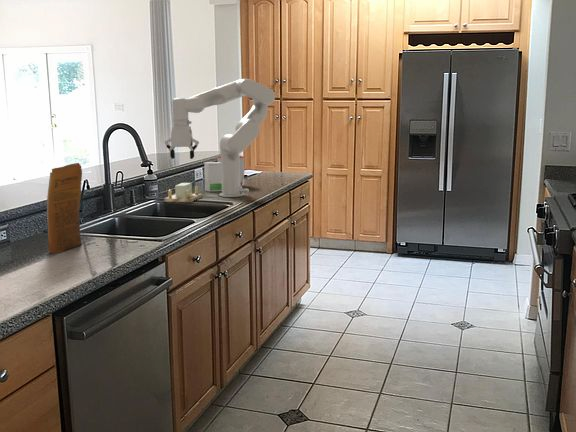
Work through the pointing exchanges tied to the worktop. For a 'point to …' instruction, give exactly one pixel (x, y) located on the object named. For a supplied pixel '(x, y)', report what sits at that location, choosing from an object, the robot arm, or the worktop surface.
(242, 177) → the citrus juicer
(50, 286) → the worktop surface
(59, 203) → the pancake mix bag
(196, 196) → the mount plate
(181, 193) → the block
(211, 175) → the skincare box
